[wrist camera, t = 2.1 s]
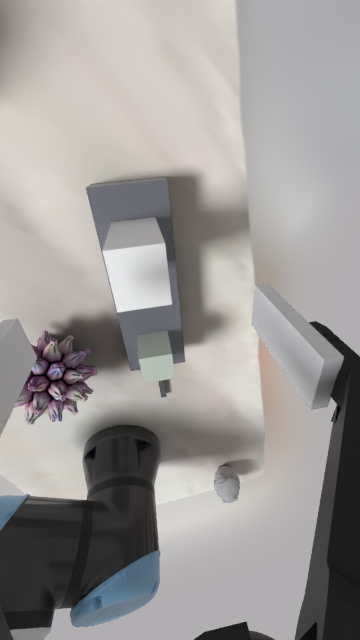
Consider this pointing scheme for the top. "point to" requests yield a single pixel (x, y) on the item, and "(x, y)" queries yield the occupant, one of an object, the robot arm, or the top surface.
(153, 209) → the power strip
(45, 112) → the top surface
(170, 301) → the white rectangular block
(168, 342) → the block
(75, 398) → the flower
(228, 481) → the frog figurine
